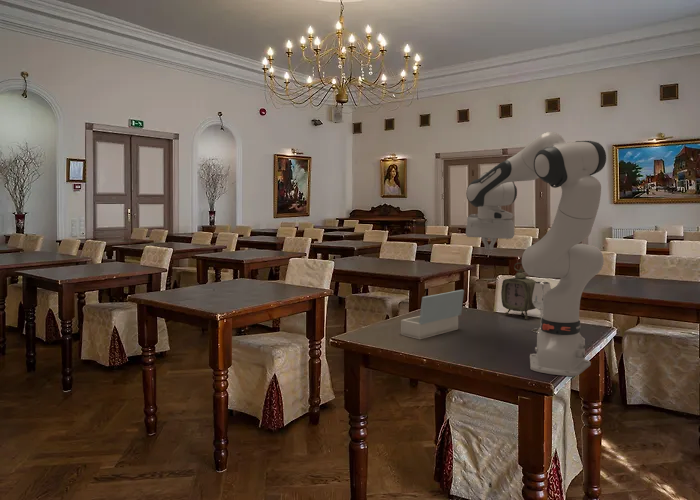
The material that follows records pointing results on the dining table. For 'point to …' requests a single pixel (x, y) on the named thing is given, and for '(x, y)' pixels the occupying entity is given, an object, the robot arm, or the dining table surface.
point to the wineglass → (539, 298)
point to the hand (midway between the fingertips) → (489, 249)
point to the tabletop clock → (518, 293)
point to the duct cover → (441, 306)
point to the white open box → (427, 327)
